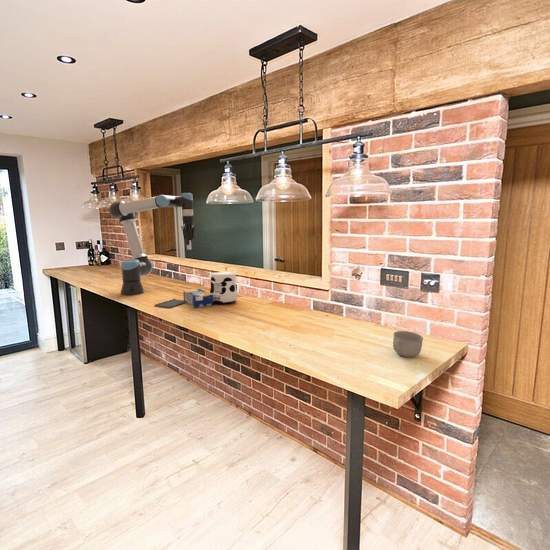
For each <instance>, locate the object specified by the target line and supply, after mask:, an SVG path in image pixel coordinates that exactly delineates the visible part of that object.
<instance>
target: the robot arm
mask: <svg viewBox="0 0 550 550" xmlns="http://www.w3.org/2000/svg"><path fill="white" fill-rule="evenodd" d="M161 208H162V209H163V208H181V209H182V210H181V215H182V217H181V218H182V222H183V225H181V226H180V228H181V231H182V235H183V239H184V241H185V242H186V249H187V250H192V241H193V240H194V239H195V238H194V237H195V229H196V225H194V221H195V220H194V198H193V193H191V192H182V193H181V195H179V196H178V195H165V194H160V195H157V196H152V197H149V198H148V197H147V198H142V199H137V200H132V201H126V202H125V201H116V202H113V203H111V204H110V205H109V208H108V213H109V216H111V217H112V218H114V219H117V220H119V223H120V224H121V225H123V229H124V232H125V236H126V239H127V243H128V246H129V250H130V254H131V255H132V256H131V258H130V259H126V260H123V261H122V262H121V274H122V276H121V277H122V285H121V289H120V295H122V294H125V295H124V296H134V295H141V294H143V293H144V292H145V290H144V287H143V284H142V282H141V277H142V276H146V275H148V274H150V273H152V271H153V268H154V265H153V261H152V260H151V259H150V258H149V257H148V255H147V254H145V251H144V248H143V243H142V241H141V237H140V233H139V231H138V227H137V223H136V221H137V219H138V218H137V217H138V216H137V215H138V213H139V212H145V211H150V210H155V209H161Z"/></svg>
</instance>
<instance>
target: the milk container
mask: <svg viewBox="0 0 550 550" xmlns="http://www.w3.org/2000/svg"><path fill="white" fill-rule="evenodd" d="M236 276H237V275H236V273H235V272H229V271H228V272H227V271H220V272H213V273H211V274H210V290H209V293H210V294H212V295H213V304H221V305H222V304H231V303H235V302H236V301H237V299H238V291H237V286H236V281H237V280H236V278H237V277H236Z"/></svg>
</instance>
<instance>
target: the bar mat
mask: <svg viewBox="0 0 550 550" xmlns="http://www.w3.org/2000/svg"><path fill="white" fill-rule="evenodd" d="M184 304H188V303H187V301H185V300H184V299H177V298H172V299H169V300H166V301H163V302H160V303H159V302H158V303H156V304H154V307H159V308H165V309H166V308H167V309H173V308H175V307H178V306H181V305H184Z"/></svg>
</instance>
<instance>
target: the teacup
mask: <svg viewBox="0 0 550 550" xmlns="http://www.w3.org/2000/svg"><path fill="white" fill-rule="evenodd" d="M423 340H424V337H423V336H422V335H421V334H419V333H416V332H413V331H406V330H398V331H395V332H394V333H393V342H392V344H393V345H392V347H393V350H394V351H395V352H396V354H397V355H399V356H401V357H404V358H414V357H416V356H418V355H419V354H421V351H422V346H423Z"/></svg>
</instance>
